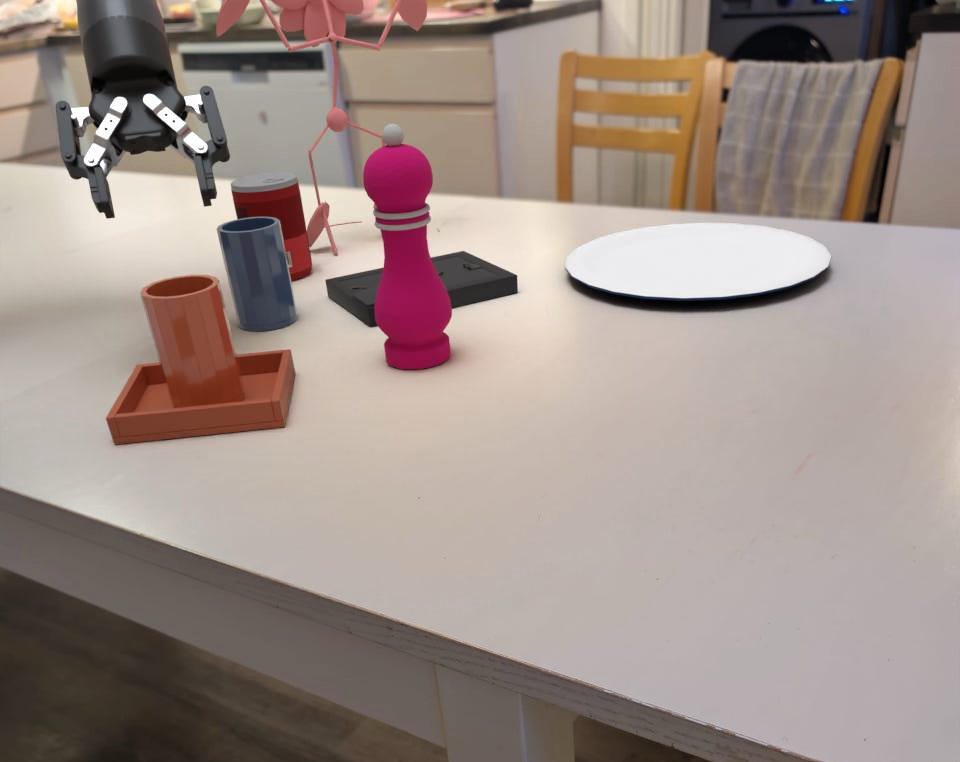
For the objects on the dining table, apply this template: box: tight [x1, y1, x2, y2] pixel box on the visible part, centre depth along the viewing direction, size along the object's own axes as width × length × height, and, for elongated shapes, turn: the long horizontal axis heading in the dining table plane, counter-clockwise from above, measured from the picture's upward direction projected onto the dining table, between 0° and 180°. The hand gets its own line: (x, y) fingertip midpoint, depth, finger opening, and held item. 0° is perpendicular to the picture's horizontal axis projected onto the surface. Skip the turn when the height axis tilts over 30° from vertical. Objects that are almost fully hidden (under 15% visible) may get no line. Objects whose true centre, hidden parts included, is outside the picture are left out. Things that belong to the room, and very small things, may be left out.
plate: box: [564, 222, 833, 302], centre depth 105 cm, size 29×29×2 cm
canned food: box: [230, 171, 313, 282], centre depth 113 cm, size 8×8×11 cm
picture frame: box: [325, 250, 519, 328], centre depth 105 cm, size 13×2×18 cm
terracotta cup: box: [139, 274, 245, 408], centre depth 81 cm, size 6×6×10 cm
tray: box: [105, 349, 296, 445], centre depth 83 cm, size 14×12×2 cm
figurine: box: [215, 0, 440, 256], centre depth 119 cm, size 15×26×35 cm, turn 119°
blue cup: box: [216, 217, 298, 332], centre depth 99 cm, size 6×6×10 cm
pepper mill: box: [362, 123, 453, 370], centre depth 84 cm, size 7×7×20 cm
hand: (158, 207), depth 83 cm, fingers open, 8 cm apart
